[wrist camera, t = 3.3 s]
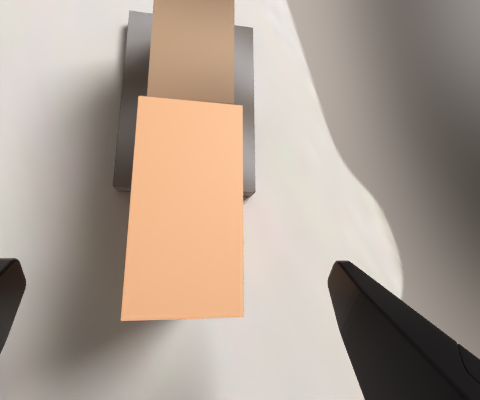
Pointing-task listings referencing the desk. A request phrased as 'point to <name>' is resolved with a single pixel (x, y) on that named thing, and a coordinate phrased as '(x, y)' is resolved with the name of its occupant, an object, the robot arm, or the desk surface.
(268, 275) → the desk surface
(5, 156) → the desk surface
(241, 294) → the block
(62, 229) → the desk surface
